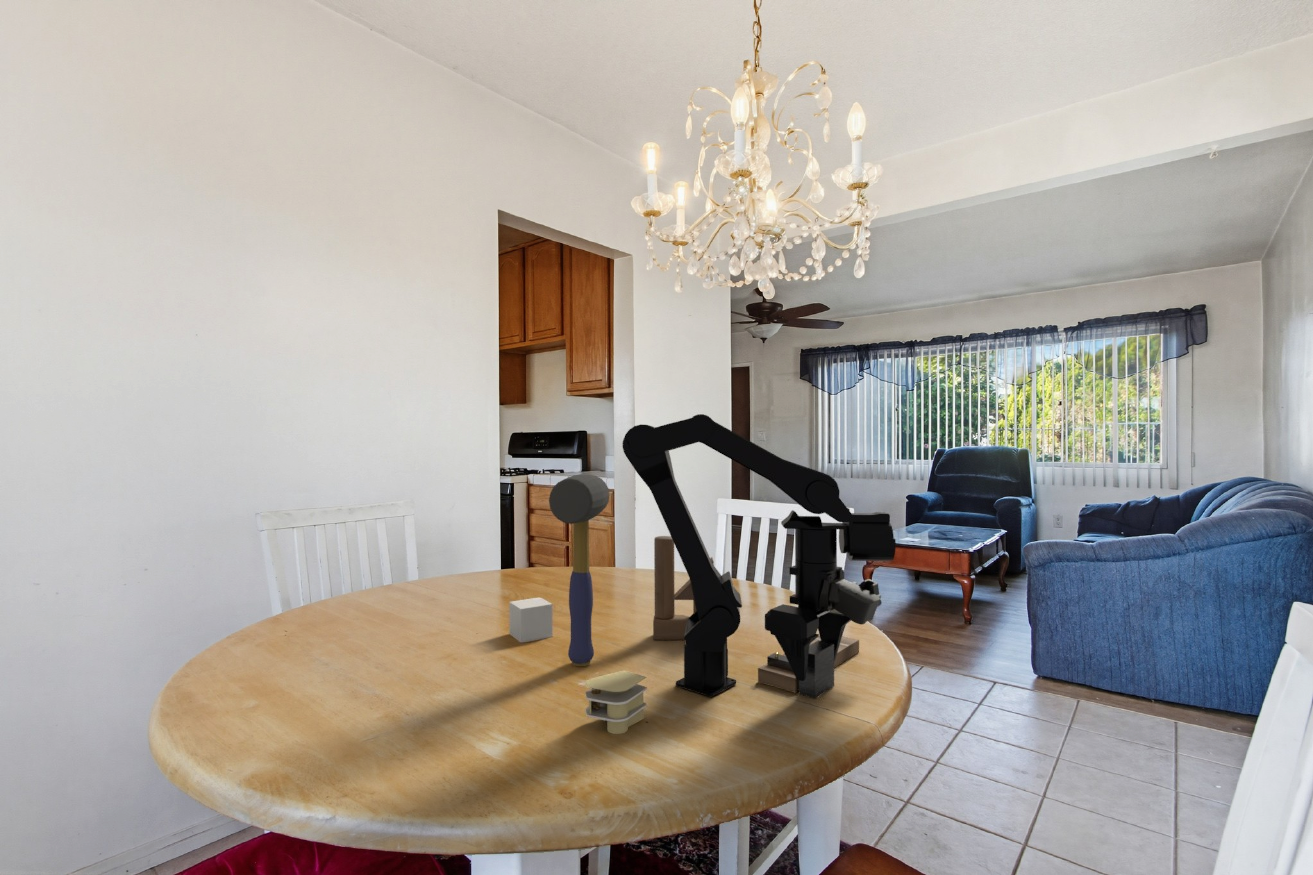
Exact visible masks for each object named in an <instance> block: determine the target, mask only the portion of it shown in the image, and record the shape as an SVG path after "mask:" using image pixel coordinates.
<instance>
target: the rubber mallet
mask: <svg viewBox="0 0 1313 875" xmlns="http://www.w3.org/2000/svg"><path fill="white" fill-rule="evenodd" d="M610 495H611V494H610V490H609V487H608V485H607V483H606V482H605V481H604V480H603V478H601V477H600V476H597V475H595V474H585V473H582V474H574V475H571V476H568V477H566V478H564V479H562V480H560V481H558V482H557V483H556V484H555V485H554V486H553V487H552V489H551V491H550V493H549V497H548V498H549V499H548V504H549V508H550V511H551V513H552V515H553V516H554V517H555V518H556V519H557V520H558V521H560V522H562V523H564V524H569V525H572V524H573V526H572V527H573V528H572V529H573V532H572V533H573V534H572V535H573V537H572V538H573V540H572V543H573V544H572V547H573V549H572V571H571V574H570V578H569V580H570V581H569V589H568V590H569V591H568V609H569V616H570V642H569V646H568V653H567V654H568V659H569V661H571V664H572V665H573V666H576V667H584V666H589V665H590V664H591V661H592V659H593V658H594V655H595V651H594V650H595V649H594V646H593V645H594V644H593V642H592V641H593V640H592V617H593V614H592V613H593V607H594V592H593V581H592V575H591V571H590V526H589V525H590V524H589V523H590V522H589V521H590V520H592V519H593V518H596V517H597V516H599V515H600V514H601V513H602V512H603V511H604V510H605V508H607V505H608V504H609V501H610Z"/></svg>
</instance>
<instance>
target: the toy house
mask: <svg viewBox="0 0 1313 875" xmlns="http://www.w3.org/2000/svg"><path fill="white" fill-rule="evenodd" d="M645 679H647V676H645V675H641V674H638V673H636V672H631V671H628V670H625V669H624V670H620V671H615V672H612V673H608V674H604V675H600V676H596V677H591V678H590V679H588V680H586V681H585V686H586V687H587V688H589V689H588V690H586V691H585V693H584V694H585V698H586V700H587V701H588V706H587V707H585V714H586V717H587V718H592V719H596V720H602V721H604V722H605V723H606V724H607V725H606V727H607V728H606V730H607V732H608V733H610V734H613V735H622V734H624V733H627V732H628V730H629V727H631V726H632V725H634V724H636V723H638V722H640V721H642V720H644V709H645V708H646V707H647V706H648V703H647V702H644V693H645V692H647V690H648V687H647V686H645V685H641V684H639V683H641V682H642V681H644V680H645Z"/></svg>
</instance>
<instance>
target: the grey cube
mask: <svg viewBox="0 0 1313 875" xmlns="http://www.w3.org/2000/svg"><path fill="white" fill-rule="evenodd" d="M508 605H509V607H508V608H509V611H508V612H509V617H508V618H509V624H508V625H509V626H508V627H509V635H510V636H511V637H513V638H514V639H516V640H517V641H518V642H519V643H527V642H533V641H538V640H544V639H548V638H549V639H550V638H553V636H554V634H553V632H554V631H553V628H554V627H553V626H554V625H553V623H554V622H553V621H554V620H553V617H554V616H553V607H554V606H553V603H551V602H550V601H547V600H546V599H544V598H542V597H532V598H525V599H521V600H520V599H519V600H513V601H509V604H508Z"/></svg>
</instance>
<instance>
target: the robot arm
mask: <svg viewBox="0 0 1313 875" xmlns="http://www.w3.org/2000/svg"><path fill="white" fill-rule="evenodd" d="M697 443H700V444H703V445H705V446H707V447H709V448H710V449H712V450H714V451H715V452H717V453H718V454H721V455H723V456H725V457H727V458H728V459H730V460H731V461H734V462H735V463H737V464H739V465H741V466H743V467H745V468H746V469H748V470H750V471H752V472H753V473H755V474H757V475H758V476H761V477H763V478H764V479H765V480H768V481H769V482H770V483H771V484H773V485H774V486H776V487H777V488H778V489H779V490H781V491H782V492H783V493H784V494H785V495H787V496H788V497H789V498H790V499H792V500H793V501H794V502H795V503H797V504H798V505H799V506H800V507H802V508H803V509H804V510H806V511H807V512H809V513H811V514H815V515H799V514H797V512H796V511H795V510H794V509H793V510H790V513H789V514H788V516H787V517H785V518H784V519H783V520H782V521H781V522H780V524H781V526H782V527H783V529H785V530H792V529H793V530H794V564H795V565H791V566H789V567H788V568H789V569H788V570H789V575H793V576H794V578H795V580H794V581H795V582H794V584H795V585H794V586H795V588H794V589H795V590H794V591H795V592H794V594H791V595H789V604H790V605H789V604H783V603H782V604H780V605H777V606H775V607H774V608H770V609H769V610H768V611H767V612H765V614H764V630H765V631H767V632H769V633H770V635H771V636H774V637H775V639H776V640H777V642H778V645H779V646H780V648H781V649H782V651H783V653H784V654H785V655H786V658H787V660H788V662H789V664H790V666H791V668H792V670H793V672H794V675H795V677H796V679H797V680H800V681H804V680H805V678H806V672H807V663H808V654H809V645H810V643H811V642H812V641H814V640H815V639H816V638H817V637H818V636H820V639H821V641H823V642H828V643H832V644H834V662H835V659H836V655H837V652H838V648H839V645H840V642H841V638H842V636H843V634H844V632H845V629H846V626H847V625H848V624H849V623H850V622H851V621H852V622H853V623H855V624H858V625H865V624H866V623H867V622H869V621H872V620H873V619H874V617H875V615H876V612H877V609H878V607H880V606H881V605H882V600H881V597H882V595H881V594H880V588H879V583H878V582H876V581H875V580H872V579H870V578H868V579H865V580H863V581H862V582H860V583H859V584H858V582H856V581H853V582H851V581H849V580H847V579H845V570H844V569H843V566H838V563H837V562H838V554H837V553H838V550H837V549H838V548H839V550H840V554H846V556H847V558H848V561H851V562H852V561H853V562H854V561H855V562H857V561H858V562H861V561H862V562H893V561H894V559H895V555H896V548H897V547H896V545H897V544H896V540H897V539H896V538H895V536H894V530H893V529H894V528H893V526H892V524H891V518H890V517H891V515H890V514H889V513H888V512H886V511H876V512H871V513H869V512H867V513H864V512H863V513H861V512H854V513H853V512H851V511H850V508H848V506H846V504H845V503H844V502H843V500H842V499H841V498H840V488H839V485H838V482H837V481H836V480H835V479H834V478H833V476H831V475H829V474H828V473H824V472H821V471H819V470H816V469H813V468H810V467H807V466H804V465H801V464H799V463H795V462H793V461H790V460H786V459H783V458H781V457H780V456H777V455H776V454H774V453H772V452H770V451H769V450H767V449H765V448H764V447H762V446H759V445H758V444H756V443H754V442H752V441H751V440H749V439H746V438H745V437H743V436H742V435H740V434H738V433H736V432H734V431H732V430H731V429H729V428H727V427H725V426H723V425H722V424H720V423H718V422H716V421H715V420H713V419H712V418H711V417H710V416H709V415H707V414H703V413H702V414H701V413H700V414H696V415H693V416H691V417H689V418H686V419H682V420H678V421H674V422H671V423H670V422H669V423H667V424H663V425H659V426H657V427H656V426H653V425H649V424H638V425H634V426H632V427H631V428H629V429H628V430H627V432H626V433H625V435H624V437H623V440H622V450H623V453H624V455H625V457H626V458H627V460H628V461H629V463H630V464H631V466H632V468H634V470H635V472H636V473H637V475H638V476H639V477H640V479H641V480H642V481H643V482H644V483H645V485H646V486H647V487H648V488H649V491H651V494H652V496H653V499H654V501H655V503H656V505H657V507H658V511H659V512H660V515H661V516H662V519H663V521H664V523H665V526H666V527H667V530H668V533H669V536H671V537H672V539H673V542H674V547H675V549H676V550H677V553H678V555H679V557H680V559H681V562H682V564H683V566H684V568H685V571H686V572H687V576H688V577H689V579H690V582H691V587H692V592H693V597H694V602H695V606H696V611H695V612H694V613H693V612H692V614H691V615H690V616H688V617H689V618H688V619H687V624H686V629H685V635H684V639H685V640H684V642H685V643H684V644H683V677H682V678H679V679H678V680H675V686H676V687H679V688H682V689H685V690H688V691H691V692H695V693H697V694H700V695H702V696H707V697H710V698H711V697H715V696H716V695H719V694H720V693H721V692H724V691H725V690H727V689H729V688H731V687H733V686H735V685H736V684H737V679H735V678H731V677H728V675H729V650H728V638H729V637H731V636H732V635H734V634H735V633H736V631H738V629H739V626H740V623H741V610H740V608H741V609H742V607H743V603H742V597H741V596H742V595H741V593H740V592H738V590H737V589H736V588H735V586H734V583H733V580H732V579H733V578H732V575H731V572H730V570H728V571H726V572H725V573H723V574H722V575H721V573H720V571H718V569H717V568H716V566H715V565H713V563H712V561H711V559H710V558H711V557H710V554H709V553H708V551H707V547H706V545H705V544H704V541H703V539H702V537H701V534H700V533H699V530H698V528H697V526H696V523H695V522H694V519H693V516H692V514H691V512H690V511H689V508H688V505H687V503H686V501H685V499H684V496H683V495H682V492H681V489H680V488H679V485H678V483H677V481H676V478H675V473H674V469H673V463H672V459H671V454H670V451H673V450H676V449H679V448H682V447H686V446H689V445H692V444H693V445H694V444H697ZM821 514H826V515H827V516H829V517H831V518H832V519H833V520H835V521H836V522H823V521H822V518H821V516H819V515H821ZM837 530H839V531H837ZM837 532H838V537H837ZM837 538H838V539H837ZM837 540H838V544H839V545H838V544H837ZM837 545H838V546H839V547H838V548H837ZM791 604H792V605H791ZM793 605H794V606H793ZM795 605H797V606H795ZM817 632H818V633H817ZM784 654H783V655H784Z"/></svg>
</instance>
